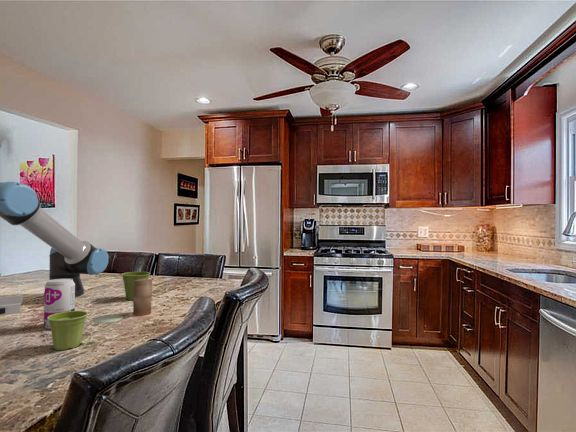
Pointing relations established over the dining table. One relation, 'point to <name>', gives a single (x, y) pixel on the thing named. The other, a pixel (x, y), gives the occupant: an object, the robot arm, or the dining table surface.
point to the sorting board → (116, 317)
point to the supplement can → (58, 298)
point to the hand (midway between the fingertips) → (21, 303)
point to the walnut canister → (142, 297)
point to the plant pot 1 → (67, 328)
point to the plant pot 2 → (132, 282)
